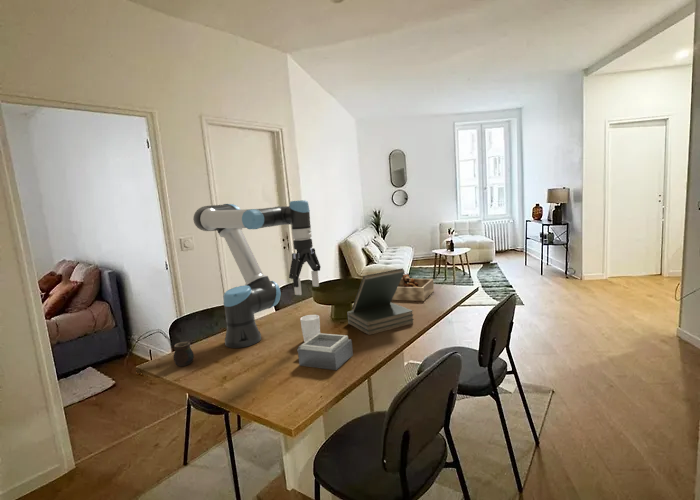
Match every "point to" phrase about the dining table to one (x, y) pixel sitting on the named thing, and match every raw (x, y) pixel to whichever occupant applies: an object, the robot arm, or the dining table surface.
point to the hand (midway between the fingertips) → (307, 290)
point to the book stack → (379, 304)
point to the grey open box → (325, 351)
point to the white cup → (310, 326)
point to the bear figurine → (409, 281)
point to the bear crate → (414, 290)
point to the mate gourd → (183, 354)
